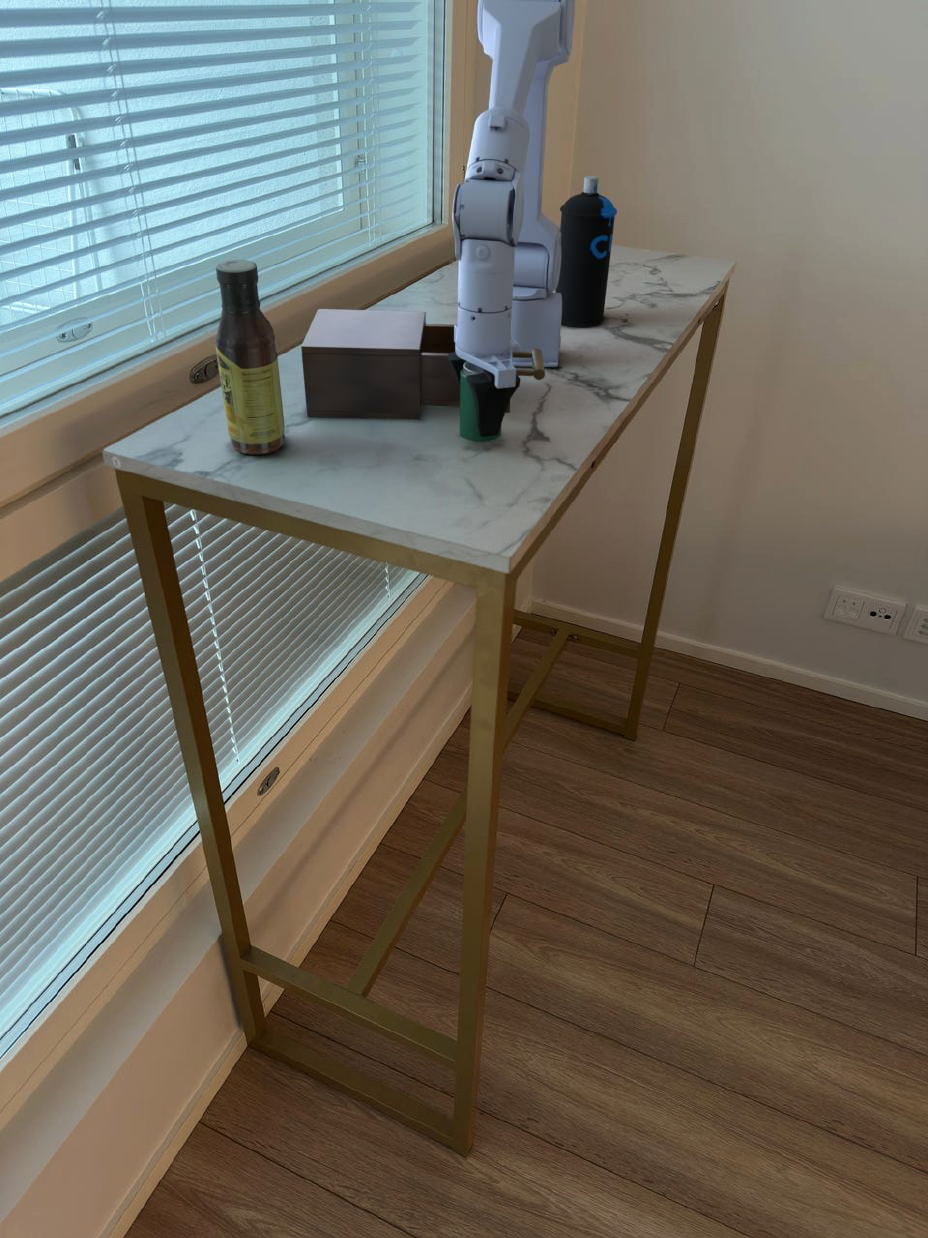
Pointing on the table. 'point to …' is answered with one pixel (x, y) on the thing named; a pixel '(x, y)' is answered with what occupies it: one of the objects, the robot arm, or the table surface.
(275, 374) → the sauce bottle
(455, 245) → the robot arm
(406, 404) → the cabinet
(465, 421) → the can
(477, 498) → the table surface
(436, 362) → the drawer
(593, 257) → the aerosol can
